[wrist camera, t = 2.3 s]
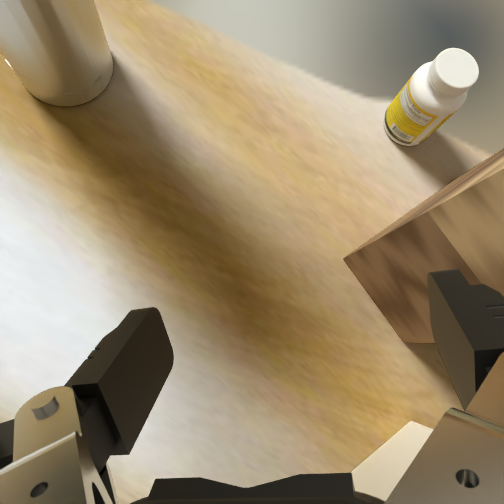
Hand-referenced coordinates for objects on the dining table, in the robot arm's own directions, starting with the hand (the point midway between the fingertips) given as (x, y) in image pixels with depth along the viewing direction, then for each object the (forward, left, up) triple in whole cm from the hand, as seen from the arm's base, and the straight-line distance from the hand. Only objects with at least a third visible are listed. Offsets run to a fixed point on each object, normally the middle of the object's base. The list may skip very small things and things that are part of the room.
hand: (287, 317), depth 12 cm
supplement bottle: (-7, +28, -27) cm, 40 cm away
